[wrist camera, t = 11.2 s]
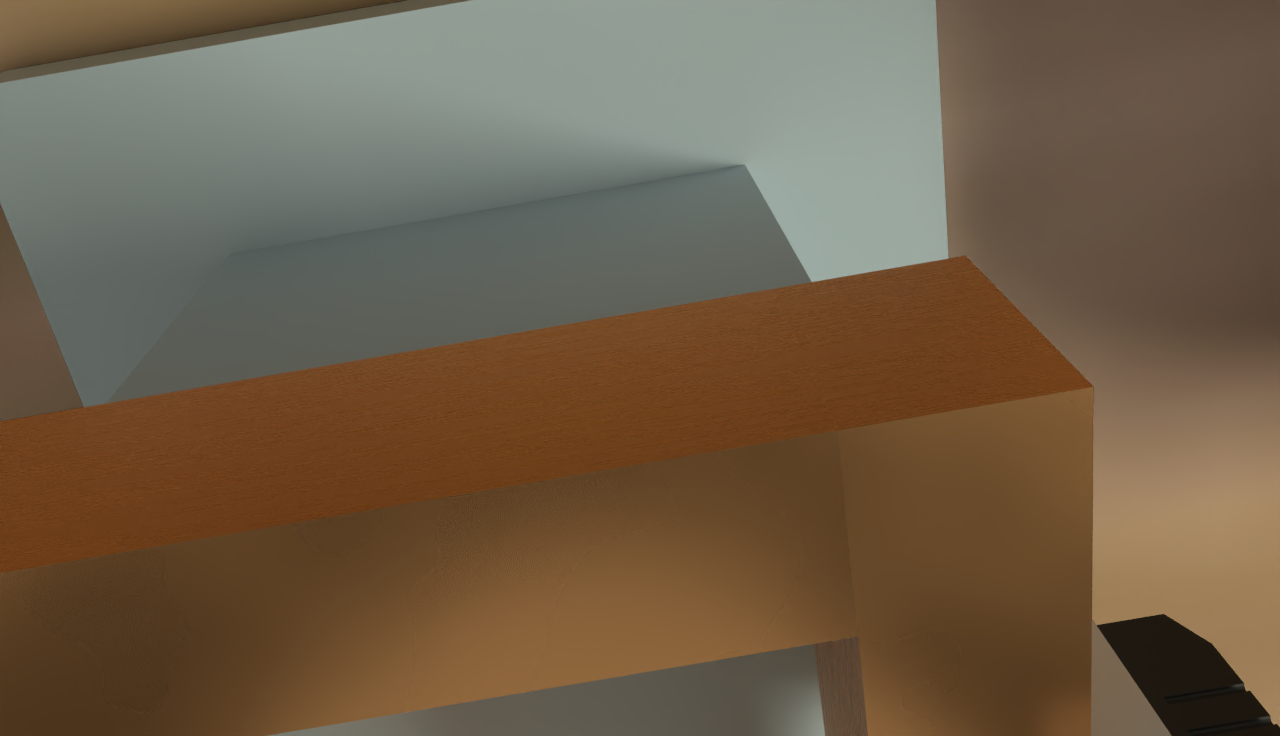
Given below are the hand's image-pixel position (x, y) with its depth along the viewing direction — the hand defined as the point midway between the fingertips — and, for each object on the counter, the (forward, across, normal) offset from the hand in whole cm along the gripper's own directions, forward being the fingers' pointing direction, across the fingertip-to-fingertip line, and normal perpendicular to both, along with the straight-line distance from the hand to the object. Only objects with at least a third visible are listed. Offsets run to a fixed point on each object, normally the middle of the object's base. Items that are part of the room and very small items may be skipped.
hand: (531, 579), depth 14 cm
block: (+5, 0, 0) cm, 5 cm away
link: (-3, 0, 0) cm, 3 cm away
